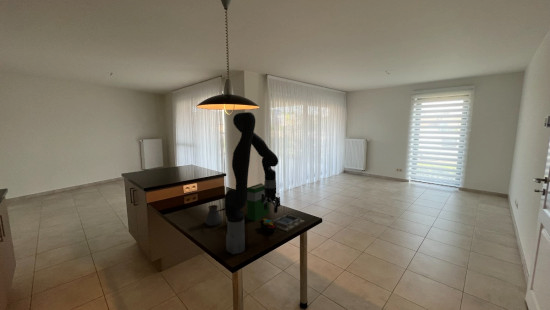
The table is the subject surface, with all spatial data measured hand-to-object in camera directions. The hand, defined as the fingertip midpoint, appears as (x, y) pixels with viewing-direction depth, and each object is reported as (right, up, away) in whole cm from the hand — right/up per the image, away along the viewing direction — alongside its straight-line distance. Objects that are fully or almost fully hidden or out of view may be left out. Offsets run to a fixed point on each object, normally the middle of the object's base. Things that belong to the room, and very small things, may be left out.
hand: (270, 211), depth 139 cm
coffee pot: (-36, -13, +10) cm, 40 cm away
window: (+11, -12, +14) cm, 22 cm away
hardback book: (-10, -11, +26) cm, 30 cm away
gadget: (0, -14, +1) cm, 14 cm away
